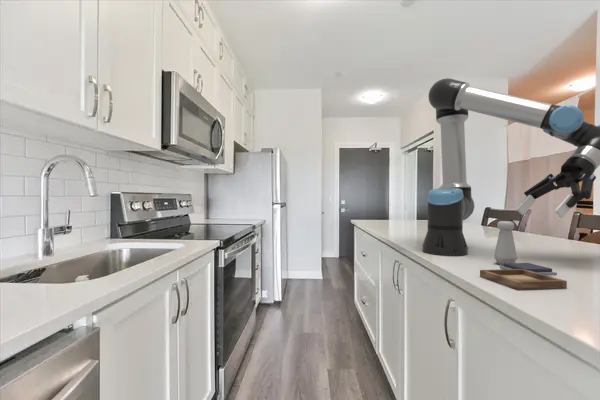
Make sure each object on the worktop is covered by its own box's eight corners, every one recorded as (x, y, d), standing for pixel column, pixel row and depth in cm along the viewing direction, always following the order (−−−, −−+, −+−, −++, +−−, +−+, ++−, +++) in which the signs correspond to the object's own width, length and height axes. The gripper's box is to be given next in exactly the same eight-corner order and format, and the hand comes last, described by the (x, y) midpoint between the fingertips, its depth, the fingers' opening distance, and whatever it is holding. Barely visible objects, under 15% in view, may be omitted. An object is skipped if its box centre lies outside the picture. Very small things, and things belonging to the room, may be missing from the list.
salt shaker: (510, 262, 100) (510, 220, 100) (521, 266, 94) (521, 222, 94) (490, 262, 100) (490, 220, 100) (499, 266, 95) (500, 221, 95)
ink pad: (499, 268, 92) (499, 262, 92) (528, 267, 93) (528, 262, 93) (525, 275, 83) (525, 270, 83) (556, 274, 84) (557, 269, 84)
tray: (479, 276, 82) (480, 269, 82) (522, 275, 84) (522, 268, 84) (517, 290, 70) (517, 282, 70) (566, 288, 72) (566, 280, 72)
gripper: (635, 169, 88) (586, 225, 86) (552, 175, 113) (513, 218, 111) (619, 149, 87) (569, 205, 86) (539, 160, 112) (499, 203, 110)
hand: (537, 213), depth 98 cm, fingers open, 13 cm apart
